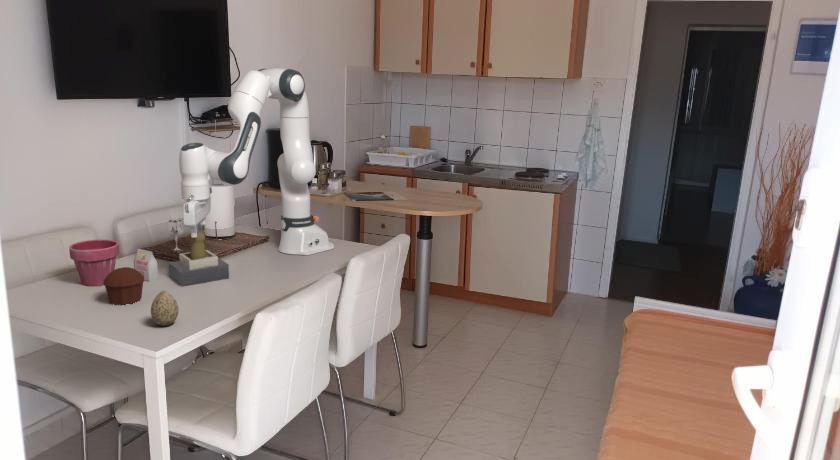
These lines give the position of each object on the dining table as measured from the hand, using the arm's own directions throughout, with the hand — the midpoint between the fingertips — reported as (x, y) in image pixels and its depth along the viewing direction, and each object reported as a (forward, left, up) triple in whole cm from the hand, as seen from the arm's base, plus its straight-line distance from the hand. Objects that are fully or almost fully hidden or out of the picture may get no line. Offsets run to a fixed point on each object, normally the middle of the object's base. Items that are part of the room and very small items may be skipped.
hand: (198, 233), depth 208 cm
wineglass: (-4, -35, -16) cm, 39 cm away
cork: (+1, 0, -11) cm, 11 cm away
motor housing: (0, 0, -16) cm, 16 cm away
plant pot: (+29, -13, -16) cm, 36 cm away
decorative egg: (+22, +34, -16) cm, 44 cm away
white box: (+15, -8, -16) cm, 24 cm away
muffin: (+26, +9, -16) cm, 32 cm away
